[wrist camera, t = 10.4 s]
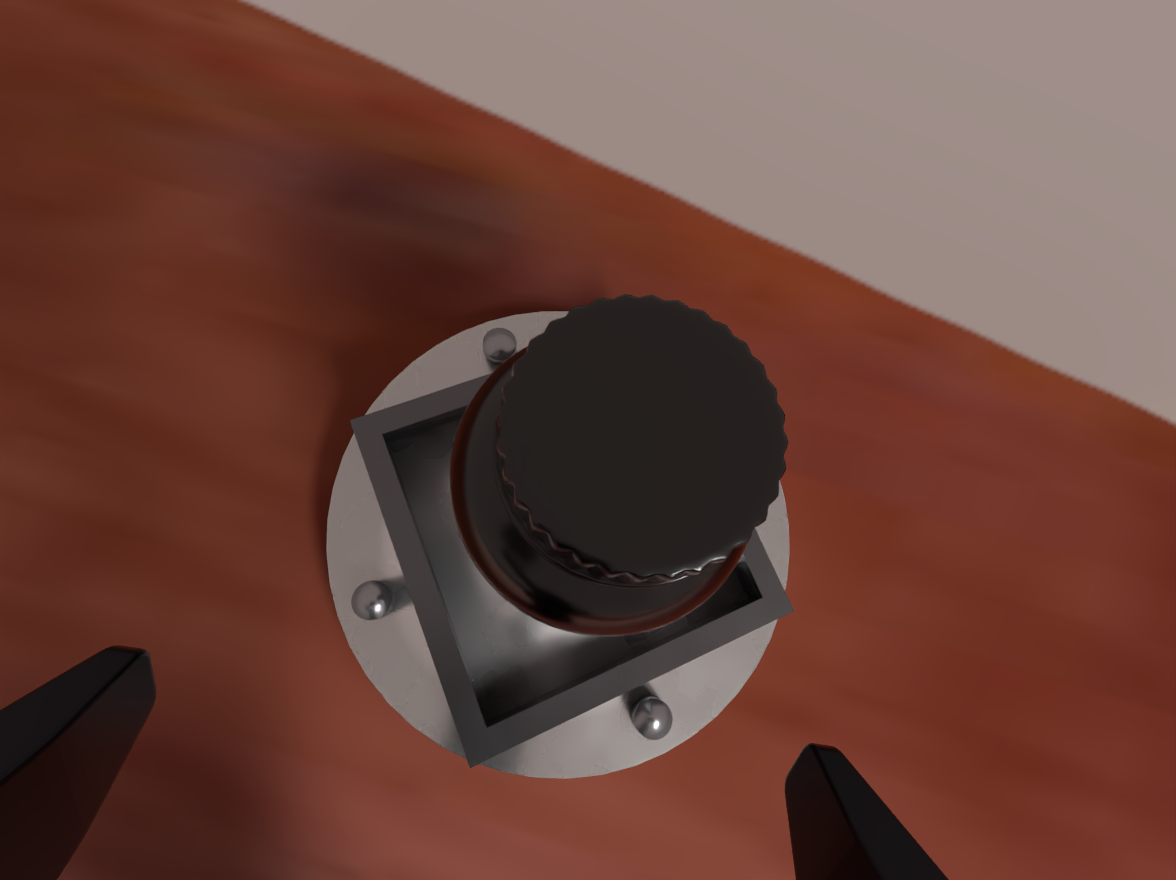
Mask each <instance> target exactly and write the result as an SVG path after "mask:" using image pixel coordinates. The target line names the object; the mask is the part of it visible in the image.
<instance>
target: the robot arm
mask: <svg viewBox="0 0 1176 880" xmlns="http://www.w3.org/2000/svg"><path fill="white" fill-rule="evenodd" d="M155 698H156V686H155V680H154V675H153V670H152V664H151V659H150V655H149V653H148V652H147V651H146V650H144V649H140V648H133V647H126V646H111V647H108V648H105V649H104V650H102V651H100V652H98V653H96V654H95V655H93V656H91V657H90V658H88V659H86V660H85V661H83V662H81V663H79V664H78V665H76V666H74V667H73V668H71V669H69V670H68V671H66V672H64V673H62V674H61V675H59V676H57V677H56V678H54V679H52V680H51V681H49V682H47V683H45V684H44V685H42V686H40V687H39V688H37V689H35V690H34V691H32V692H30V693H28V694H27V695H25V696H23V697H22V698H20V699H18V700H17V701H15V702H13V703H11V704H10V705H8V706H6V707H5V708H3V709H1V710H0V880H57V879H58V877H59V875H60V874H61V872H62V871H63V869H64V868H65V866H66V865H67V863H68V862H69V860H70V859H71V857H72V855H73V854H74V852H75V851H76V849H77V847H78V846H79V844H80V843H81V841H82V839H83V838H84V836H85V834H86V833H87V831H88V829H89V827H90V826H91V824H92V822H93V820H94V818H95V817H96V815H97V813H98V811H99V809H100V807H101V805H102V803H103V801H104V800H105V798H106V796H107V794H108V792H109V790H110V788H111V786H112V784H113V782H114V780H115V779H116V777H117V775H118V773H119V771H120V769H121V767H122V765H123V763H124V761H125V760H126V758H127V756H128V754H129V752H130V750H131V748H132V746H133V744H134V742H135V740H136V739H137V737H138V735H139V733H140V731H141V729H142V727H143V725H144V723H145V721H146V719H147V718H148V716H149V714H150V712H151V710H152V707H153V705H154V702H155ZM785 798H786V806H787V813H788V821H789V829H790V837H791V845H792V853H793V861H794V868H795V876H796V880H948V878H947V877H946V876H945V875H944V874H943V872H942V871H941V870H940V869H939V868H938V866H937V865H936V864H935V863H934V862H933V861H932V859H931V858H930V857H929V856H928V855H927V853H926V852H925V851H924V850H923V849H922V847H921V846H920V845H919V844H918V843H917V841H916V840H915V839H914V838H913V837H912V836H911V834H910V833H909V832H908V831H907V830H906V828H905V827H904V826H903V825H902V824H901V822H900V821H899V820H898V819H897V818H896V816H895V815H894V814H893V813H892V812H891V810H890V809H889V808H888V807H887V806H886V805H885V803H884V802H883V801H882V800H881V799H880V797H879V796H878V795H877V794H876V793H875V791H874V790H873V789H872V788H871V787H870V785H869V784H868V783H867V782H866V781H865V780H864V778H863V777H862V776H861V775H860V774H859V772H858V771H857V770H856V769H855V768H854V766H853V765H852V764H851V763H850V762H849V760H848V759H847V758H846V757H845V756H844V755H843V753H842V752H841V751H839V750H838V749H837V748H835V747H833V746H828V745H821V744H814V743H810V744H808V745H806V746H805V747H804V748H803V750H802V752H801V753H800V755H799V757H798V758H797V760H796V761H795V763H794V765H793V766H792V768H791V770H790V771H789V773H788V775H787V778H786V781H785Z"/></svg>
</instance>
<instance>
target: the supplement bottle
mask: <svg viewBox="0 0 1176 880" xmlns="http://www.w3.org/2000/svg"><path fill="white" fill-rule="evenodd" d="M784 422H785V414H784V412H783V410H782V409H781V407H780V406H779V404H778V403H777V390H776V388H775V387H774V385H773V384H772V383H771V382H770V381H769V380H768V379H767V376H766V371H765V368H764V365H763V364H762V363H761V362H760V361H759V360H757V359H756V358H755V357H753V356H752V354H751V352H750V349H749V347H748V345H747V343H745V342H744V341H742V340H740V339H738V338H737V337H735V336H734V335H733V334H732V332H731V330H730V329H729V328H728V326H727V325H725V324H722V323H720V322H717V321H714V320H712V319H711V318H710V317H709V315H708V314H707V313H706V312H704V311H703V310H698V309H691V308H689V307H687V306H686V305H685V304H683V303H682V302H680V301H679V300H668V301H664V300H662V299H660V298H658V297H656V296H654V295H648V296H643V297H634V296H632V295H628V294H624V295H621V296H619V297H617V298H614V299H606V298H598V299H596V300H595V301H593V302H592V303H591V304H589V305H588V306H578V307H573V308H572V309H571V310H570V311H569V312H568V313H567V315H566V316H565V317H563V318H559V319H555V320H552V321H550V323H549V324H548V326H547V327H546V329H545V332H544V333H542V334H540V335H537V336H536V337H534V338H532V339H531V340H530V341H529V344H528V346H527V347H525V348H523V349H522V350H520V351H518V352H517V353H516V354H514V355H513V356H511V357H510V358H508V359H507V360H506V361H505V362H504V363H502V364H501V365H500V366H499V367H498V368H497V369H496V370H495V371H494V372H493V373H492V374H491V375H490V376H489V377H488V378H487V379H486V380H485V381H484V383H483V384H482V385H481V386H480V388H479V389H478V390H477V392H476V393H475V395H474V396H473V398H472V399H471V401H470V403H469V404H468V406H467V408H466V410H465V412H464V414H463V416H462V419H461V421H460V424H459V426H458V429H457V432H456V436H455V440H454V443H453V448H452V454H451V460H450V475H449V476H450V495H451V503H452V510H453V514H454V518H455V522H456V526H457V528H458V531H459V534H460V537H461V540H462V542H463V544H464V546H465V548H466V550H467V552H468V554H469V556H470V558H471V559H472V561H473V563H474V564H475V566H476V568H477V569H478V570H479V572H480V573H481V574H482V576H483V577H484V578H485V580H486V581H487V582H488V583H489V584H490V585H491V586H492V588H493V589H494V590H496V591H497V592H498V594H499V595H500V596H502V597H503V598H504V599H505V600H507V602H509V603H511V605H513V606H515V607H516V608H517V609H518V610H520V611H521V612H523V613H524V614H526V615H528V616H530V617H531V618H533V619H535V620H537V621H539V622H542V623H544V624H546V625H548V626H551V627H554V628H557V629H560V630H563V631H567V632H571V633H576V634H581V635H590V636H624V635H633V634H638V633H643V632H647V631H651V630H654V629H657V628H660V627H663V626H665V625H668V624H670V623H672V622H674V621H677V620H678V619H680V618H682V617H684V616H685V615H687V614H689V613H691V612H692V611H693V610H695V609H696V608H697V607H699V606H700V605H702V604H703V603H704V602H705V601H706V600H707V599H709V598H710V597H711V596H712V595H713V594H714V593H715V592H716V591H717V590H718V589H719V588H720V586H721V585H722V584H723V583H724V582H725V581H726V580H727V578H728V577H729V575H730V574H731V573H732V571H733V570H734V569H735V567H736V565H737V563H738V562H739V560H740V558H741V557H742V555H743V552H744V550H745V548H746V546H747V544H748V542H749V540H750V538H751V536H752V532H753V530H754V528H755V527H758V526H759V525H761V524H762V523H764V522H765V521H766V518H767V515H768V508H769V505H770V504H771V503H772V502H773V501H775V499H776V498H777V497H778V496H779V480H780V478H781V477H782V476H783V474H784V472H785V470H786V464H785V460H784V453H785V451H786V448H787V445H788V439H787V436H786V434H785V432H784V429H783V425H784Z"/></svg>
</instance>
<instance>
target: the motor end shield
mask: <svg viewBox="0 0 1176 880" xmlns="http://www.w3.org/2000/svg"><path fill="white" fill-rule="evenodd" d="M568 312H569V311H542V312H534V313H526V314H518V315H512V316H508V317H504V318H500V319H496V320H492V321H488V322H485V323H483V324H480V325H478V326H475V327H472V328H470V329H467V330H464V331H462V332H460V333H458V334H456V335H454V336H452V337H451V338H449V339H447V340H445V341H443V342H441V343H439V344H437V345H436V346H434V347H433V348H431V349H430V350H429V351H427V352H426V353H424V354H423V355H422V356H420V357H419V358H417V359H416V360H414V361H413V362H412V363H411V364H410V365H409V366H408V367H406V368H405V369H404V370H403V371H402V372H401V373H400V374H399V375H398V376H397V377H396V378H394V379H393V380H392V381H391V382H390V383H389V385H388V386H387V387H386V388H385V389H384V391H383V392H382V393H381V394H380V395H379V396H378V398H377V399H376V400H375V401H374V402H373V404H372V405H371V406H370V408H369V410H368V411H367V413H366V414H365V415H364V416H361V417H358V418H355V419H352V420H350V423H351V426H352V429H353V432H354V434H353V436H352V438H351V440H350V443H349V445H348V447H347V449H346V451H345V453H344V455H343V457H342V461H341V464H340V467H339V470H338V473H337V476H336V479H335V483H334V486H333V490H332V496H331V502H330V507H329V513H328V519H327V546H326V553H327V563H328V573H329V583H330V587H331V591H332V595H333V599H334V604H335V608H336V612H337V616H338V618H339V621H340V623H341V626H342V628H343V631H344V633H345V636H346V638H347V641H348V643H349V646H350V648H351V649H352V651H353V653H354V655H355V656H356V658H357V660H358V662H359V663H360V665H361V667H362V669H363V670H364V672H365V674H366V675H367V677H368V678H369V679H370V681H371V682H372V683H373V684H374V686H375V687H376V688H377V690H378V691H379V692H380V693H381V695H382V696H383V697H384V698H385V700H386V701H387V702H388V703H389V704H390V705H391V706H392V707H393V708H394V709H395V710H396V711H397V712H398V713H399V714H400V715H401V716H402V717H403V718H404V719H406V720H407V721H408V722H409V723H410V724H411V725H412V726H413V727H415V728H416V729H417V730H419V731H420V732H422V733H423V734H424V735H426V736H427V737H429V738H430V739H432V740H433V741H434V742H436V743H437V744H439V745H440V746H442V747H444V748H446V749H448V750H450V751H452V752H454V753H456V754H458V755H460V756H462V757H464V758H466V759H467V761H468V763H469V766H470V768H471V767H473V766H475V765H478V764H481V765H484V766H487V767H490V768H493V769H496V770H499V771H502V772H507V773H513V774H519V775H524V776H530V777H536V778H569V779H570V778H578V777H587V776H595V775H603V774H607V773H611V772H614V771H618V770H622V769H625V768H629V767H633V766H636V765H638V764H641V763H643V762H645V761H647V760H650V759H652V758H654V757H657V756H659V755H661V754H664V753H666V752H667V751H669V750H671V749H672V748H674V747H675V746H677V745H679V744H680V743H682V742H684V741H685V740H687V739H689V738H690V737H692V736H693V735H694V734H696V733H697V732H698V731H699V730H700V729H702V728H703V727H704V726H705V725H707V724H708V723H709V722H710V721H711V720H713V719H714V718H715V717H716V716H717V715H718V714H719V713H720V712H721V711H722V710H723V709H724V708H725V707H726V706H727V704H728V703H729V702H730V701H731V700H732V699H733V698H734V697H735V696H736V695H737V694H738V692H739V691H740V690H741V688H742V687H743V685H744V684H745V682H746V681H747V680H748V678H749V677H750V675H751V674H752V672H753V671H754V670H755V668H756V666H757V665H758V663H759V661H760V659H761V657H762V655H763V653H764V651H765V649H766V647H767V645H768V643H769V641H770V639H771V636H772V633H773V631H774V628H775V625H776V622H777V620H778V619H779V618H781V617H783V616H785V615H787V614H789V613H791V612H793V611H794V610H793V608H792V605H791V603H790V601H789V599H788V597H787V595H786V593H785V588H786V584H787V575H788V564H789V524H788V517H787V511H786V504H785V498H784V494H783V490H782V486H781V483H780V480H779V496H778V497H777V498H776V499H775V501H773V502H772V503H771V504H770V505H769V508H768V515H767V518H766V521H765V522H764V523H762V524H761V525H759V526H758V527H755V528H754V530H753V532H752V536H751V538H750V540H749V542H748V544H747V546H746V548H745V550H744V552H743V555H742V557H741V558H740V560H739V562H738V563H737V565H736V567H735V569H734V570H733V571H732V573H731V574H730V575H729V577H728V578H727V580H726V581H725V582H724V583H723V584H722V585H721V586H720V588H719V589H718V590H717V591H716V592H715V593H714V594H713V595H712V596H711V597H710V598H709V599H707V600H706V601H705V602H704V603H703V604H702V605H700V606H699V607H697V608H696V609H695V610H693V611H692V612H691V613H689V614H687V615H685V616H684V617H682V618H680V619H678V620H677V621H674V622H672V623H670V624H668V625H665V626H663V627H660V628H657V629H654V630H651V631H647V632H643V633H638V634H633V635H624V636H590V635H581V634H576V633H571V632H567V631H563V630H560V629H557V628H554V627H551V626H548V625H546V624H544V623H542V622H539V621H537V620H535V619H533V618H531V617H530V616H528V615H526V614H524V613H523V612H521V611H520V610H518V609H517V608H516V607H515V606H513V605H511V603H509V602H507V600H505V599H504V598H503V597H502V596H500V595H499V594H498V592H497V591H496V590H494V589H493V588H492V586H491V585H490V584H489V583H488V582H487V581H486V580H485V578H484V577H483V576H482V574H481V573H480V572H479V570H478V569H477V568H476V566H475V564H474V563H473V561H472V559H471V558H470V556H469V554H468V552H467V550H466V548H465V546H464V544H463V542H462V540H461V537H460V534H459V531H458V528H457V526H456V522H455V518H454V514H453V510H452V503H451V495H450V476H449V475H450V460H451V454H452V448H453V443H454V440H455V436H456V432H457V429H458V426H459V424H460V421H461V419H462V416H463V414H464V412H465V410H466V408H467V406H468V404H469V403H470V401H471V399H472V398H473V396H474V395H475V393H476V392H477V390H478V389H479V388H480V386H481V385H482V384H483V383H484V381H485V380H486V379H487V378H488V377H489V376H490V375H491V374H492V373H493V372H494V371H495V370H496V369H497V368H498V367H499V366H500V365H501V364H502V363H504V362H505V361H506V360H507V359H508V358H510V357H511V356H513V355H514V354H516V353H517V352H518V351H520V350H522V349H523V348H525V347H527V346H528V344H529V341H530V340H531V339H532V338H534V337H536V336H537V335H540V334H542V333H544V332H545V329H546V327H547V326H548V324H549V323H550V321H552V320H555V319H559V318H563V317H565V316H566V315H567V313H568Z"/></svg>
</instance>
